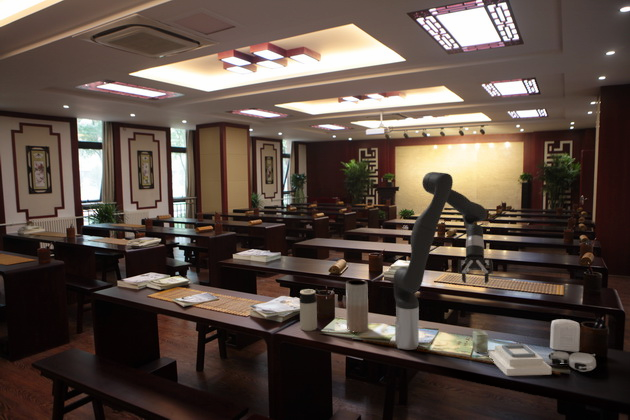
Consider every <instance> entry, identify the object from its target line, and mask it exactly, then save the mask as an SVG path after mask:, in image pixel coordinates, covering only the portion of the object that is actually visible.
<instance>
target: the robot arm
mask: <svg viewBox="0 0 630 420" xmlns="http://www.w3.org/2000/svg"><path fill="white" fill-rule="evenodd" d="M453 183H454V181H453V177H452V175H451V174H450V173H447V172H436V171H431V172H430V171H429V172H428V173H426V174H425V175H424V177H423V178H422V187H423V189H424V191H426V192H427V193H429V194H431V195H433V197H432V199H431V202H430V203H429V204H428V206H427V207H426V209H425V210H423V211H422V213H420V215H418V216H417V218H416V220H415V221H414V225H413V227H412V230H411V234H410V251H411V255H410V260H409V263H408V266H400V267H398V268H397V269H396V270H395V272H394V274H393V298H394V301H395V309H396V310H395V311H396V312H395V314H396V315H395V318H396V319H395V322H394V328H395V329H394V330H395V331H394V335H395V336H394V339H395V340H394V342H396V343H395V345H396V344H397V345H396V347H397V349H402V350H406V351H407V350H408V351H409V350H416V349H418V348H419V347H418V345H419V343H420V342H419V339H420V338H419V336H420V335H419V333H420V332H419V327H420V326H419V321H420V319H419V317H420V316H419V314H420V313H419V311H420V309H419V305H420V304H419V299H418V297H417V295H416V294H415V293H416V292H417V291H419V290H420V288H421V286H422V284H423V280H424V275H425V270H426V266H427V265H426V264H427V261H428V258H429V255H430V251H431V248H432V245H433V242H434V239H435V237H436V233H437V229H438V226H439V223H440V220H441V216H442V213H443V211H444V208H445V206H446V204H448V205H449V206H451V207H452V208H453V209H454V210H455V211H457V212H458V213H459V214H461V215H462V220H463V223H464V225H465V230H466V231H465V233H466V236H465V237H466V239H465V240H466V241H465V259H464V260H463V259H461V258H459V259H458V260H457V273H458V274H459V275H461V280H462V282H463V284H466V283H467V273H469V271H470V270H471V271H475V270H476V271H480V270H481V271H482V272H483V274H484V284H485V285H486V284H488V283H489V281H490V280H489V277H490V276H489V275H493V274H494V267H493V260H492V258H488V259H485V244H484V243H485V242H484V228H483V227H482V226H481V225H480V224H476V223H478V222H484V221H485V220H486V219H487V216H488V212H487V209H486V208H485V207H484V206H482V205H481V204H479V203H477V202H474V201H471V200H470V199H469V198H467V197H466V196H465V195H463V194H462V193H460V192H459V191H456V190H454V189H453ZM464 264H465V265H466V266H465V267H464V268H463V270H462V267H463V266H464ZM485 265H487V266H488V268H489V270H487V269H486V266H485ZM419 346H420V345H419ZM417 347H418V348H417Z"/></svg>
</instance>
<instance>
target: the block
mask: <svg viewBox="0 0 630 420" xmlns="http://www.w3.org/2000/svg"><path fill="white" fill-rule="evenodd" d="M488 339H489V334H488V333H487V332H486V331H485V330H477V331H476V330H473V331H472V350H473V349H474V350H475V351H476V352H488V350H489V349H488V347H489V342H488V341H489V340H488ZM474 350H473V351H474ZM475 351H474V352H475ZM476 352H475V353H476Z"/></svg>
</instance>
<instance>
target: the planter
mask: <svg viewBox="0 0 630 420" xmlns="http://www.w3.org/2000/svg"><path fill="white" fill-rule="evenodd" d="M368 286H369V285H368V281H367V280H365V279H357V278H355V279H349V280H346V281H345V298H346V299H345V302H346V304H345V305H346V307H345V308H346V330H347V329H348V330H350V331H354V332H362V333H366V332H367V331H369V305H368V304H369V302H368V301H369V300H368V298H369V297H368V295H369V293H368V292H369V291H368ZM348 330H347V331H348ZM350 331H349V332H350ZM354 332H353V333H354Z"/></svg>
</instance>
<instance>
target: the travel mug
mask: <svg viewBox="0 0 630 420" xmlns="http://www.w3.org/2000/svg"><path fill="white" fill-rule="evenodd" d="M316 292H317V291H316V290H314V289H310V288H307V289H306V288H305V289H301V290H300V292H299V293H300V296H299V320H300V321H299V323H300V324H299V326H300V329H301V330H302V331H304V332H305V331H307V332H309V331H310V332H311V331H315V330H316V329H317V328H318V317H317V316H318V315H317V314H318V310H317V307H318V305H317V304H318V303H317V296H316Z"/></svg>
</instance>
